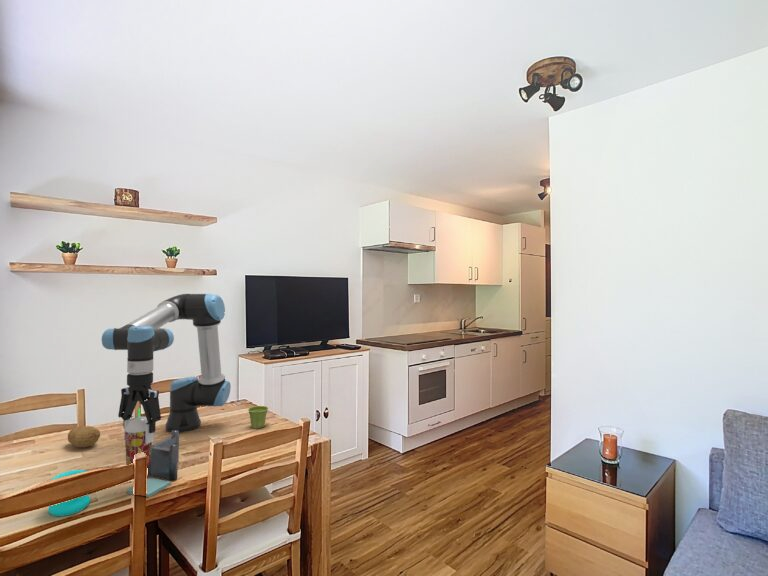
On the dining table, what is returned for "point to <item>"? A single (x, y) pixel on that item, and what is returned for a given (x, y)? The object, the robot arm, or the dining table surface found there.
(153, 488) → the pad
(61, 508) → the teal ball
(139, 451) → the smoothie
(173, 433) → the magazine holder
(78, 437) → the potato
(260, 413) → the plant pot
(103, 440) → the dining table surface
